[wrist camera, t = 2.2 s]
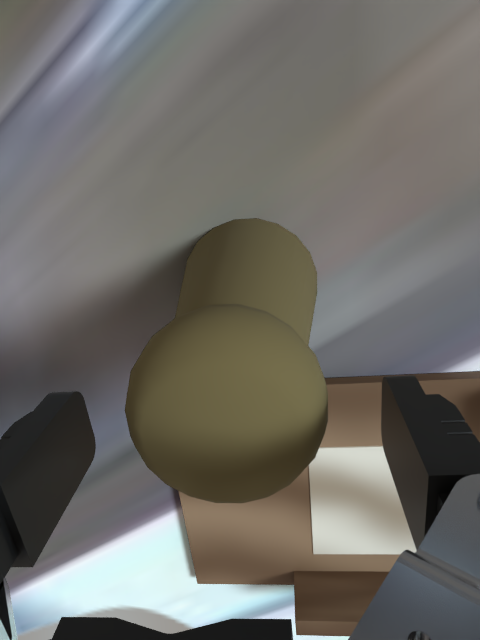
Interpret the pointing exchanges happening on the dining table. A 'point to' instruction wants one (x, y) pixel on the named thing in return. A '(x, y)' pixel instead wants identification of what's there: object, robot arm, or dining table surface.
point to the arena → (324, 513)
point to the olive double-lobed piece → (233, 370)
